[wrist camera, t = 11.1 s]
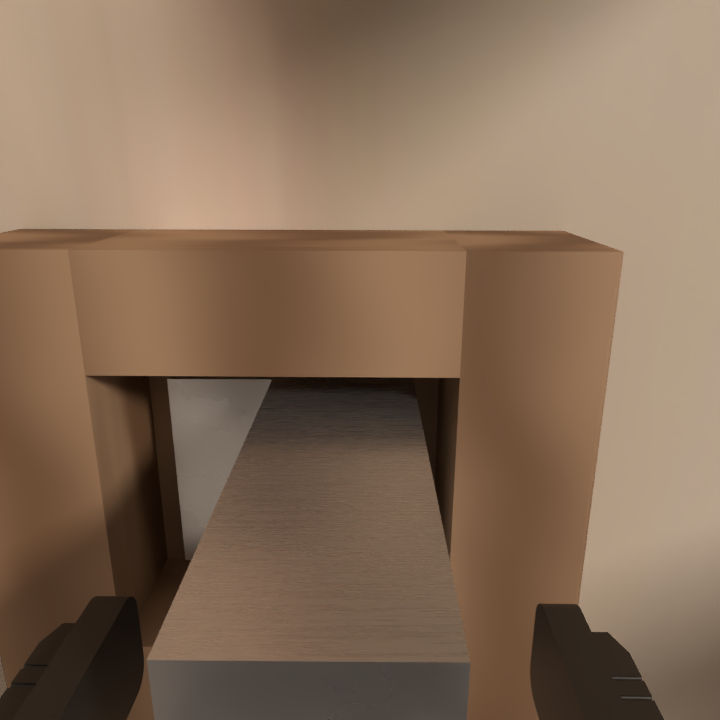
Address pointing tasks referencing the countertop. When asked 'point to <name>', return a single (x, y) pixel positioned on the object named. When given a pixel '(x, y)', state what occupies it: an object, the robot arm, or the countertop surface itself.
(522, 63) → the countertop surface
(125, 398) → the well block
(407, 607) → the grey block
